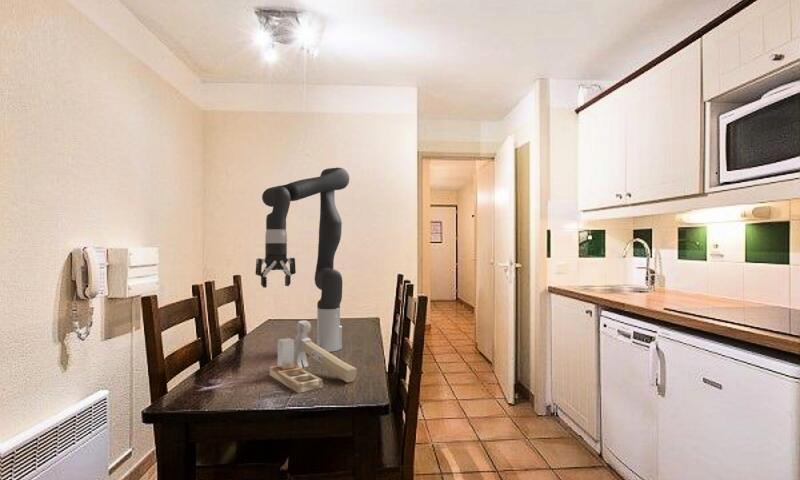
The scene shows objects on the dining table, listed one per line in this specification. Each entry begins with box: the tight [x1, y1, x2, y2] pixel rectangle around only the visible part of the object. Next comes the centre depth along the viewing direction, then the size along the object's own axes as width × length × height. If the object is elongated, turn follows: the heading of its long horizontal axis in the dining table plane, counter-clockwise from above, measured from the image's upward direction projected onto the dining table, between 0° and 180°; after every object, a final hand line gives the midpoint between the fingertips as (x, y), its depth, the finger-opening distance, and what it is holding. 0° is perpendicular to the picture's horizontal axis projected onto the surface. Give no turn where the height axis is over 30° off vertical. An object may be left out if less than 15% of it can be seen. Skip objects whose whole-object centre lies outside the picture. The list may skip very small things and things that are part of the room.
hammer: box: [293, 320, 358, 384], centre depth 153 cm, size 16×5×30 cm
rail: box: [269, 363, 324, 394], centre depth 144 cm, size 8×22×3 cm, turn 38°
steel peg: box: [277, 337, 295, 371], centre depth 149 cm, size 4×4×12 cm
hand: (275, 286), depth 164 cm, fingers open, 8 cm apart
